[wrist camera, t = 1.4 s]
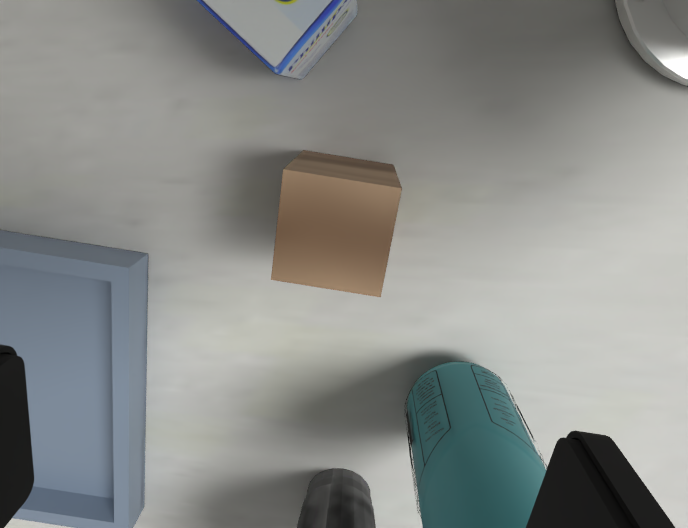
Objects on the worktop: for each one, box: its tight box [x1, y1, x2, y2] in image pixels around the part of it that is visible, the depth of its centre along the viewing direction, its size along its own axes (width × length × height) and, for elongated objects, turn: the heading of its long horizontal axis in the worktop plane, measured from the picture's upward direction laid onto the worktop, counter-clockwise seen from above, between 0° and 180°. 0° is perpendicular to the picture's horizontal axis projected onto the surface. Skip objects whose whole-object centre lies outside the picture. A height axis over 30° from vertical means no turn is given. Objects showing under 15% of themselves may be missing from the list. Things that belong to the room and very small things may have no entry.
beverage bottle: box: [404, 362, 548, 528], centre depth 22 cm, size 6×7×20 cm
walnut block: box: [271, 150, 402, 297], centre depth 24 cm, size 5×5×7 cm
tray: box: [0, 230, 148, 528], centre depth 31 cm, size 20×16×2 cm
